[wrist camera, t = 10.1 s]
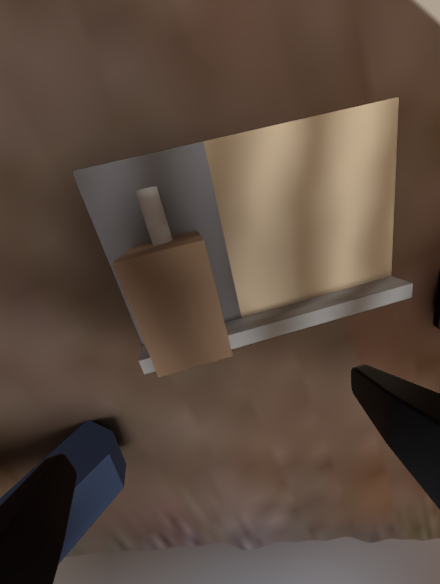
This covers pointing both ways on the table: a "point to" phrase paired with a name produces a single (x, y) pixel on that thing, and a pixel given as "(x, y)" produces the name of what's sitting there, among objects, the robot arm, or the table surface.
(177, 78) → the table surface
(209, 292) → the brown block with peg
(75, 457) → the glue gun
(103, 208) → the board
